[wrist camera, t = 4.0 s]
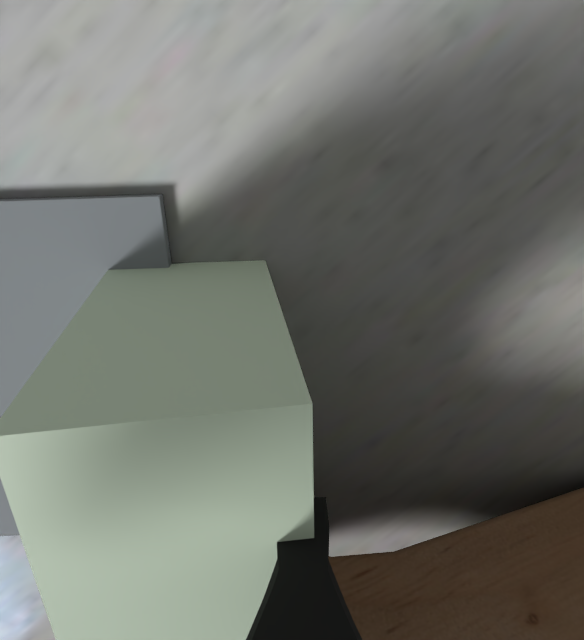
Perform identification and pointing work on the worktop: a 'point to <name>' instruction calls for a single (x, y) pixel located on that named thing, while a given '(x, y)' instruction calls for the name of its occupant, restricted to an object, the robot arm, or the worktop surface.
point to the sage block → (162, 455)
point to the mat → (63, 274)
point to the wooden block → (477, 580)
